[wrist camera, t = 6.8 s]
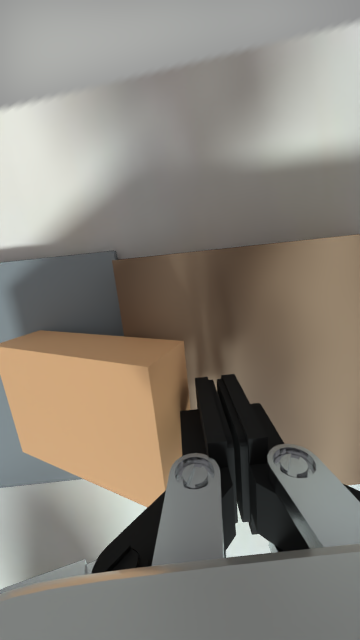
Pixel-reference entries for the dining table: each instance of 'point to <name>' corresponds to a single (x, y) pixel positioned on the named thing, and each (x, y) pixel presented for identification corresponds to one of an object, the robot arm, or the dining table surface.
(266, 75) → the dining table surface
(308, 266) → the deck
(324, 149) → the dining table surface
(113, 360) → the tile
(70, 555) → the dining table surface
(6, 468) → the mat
